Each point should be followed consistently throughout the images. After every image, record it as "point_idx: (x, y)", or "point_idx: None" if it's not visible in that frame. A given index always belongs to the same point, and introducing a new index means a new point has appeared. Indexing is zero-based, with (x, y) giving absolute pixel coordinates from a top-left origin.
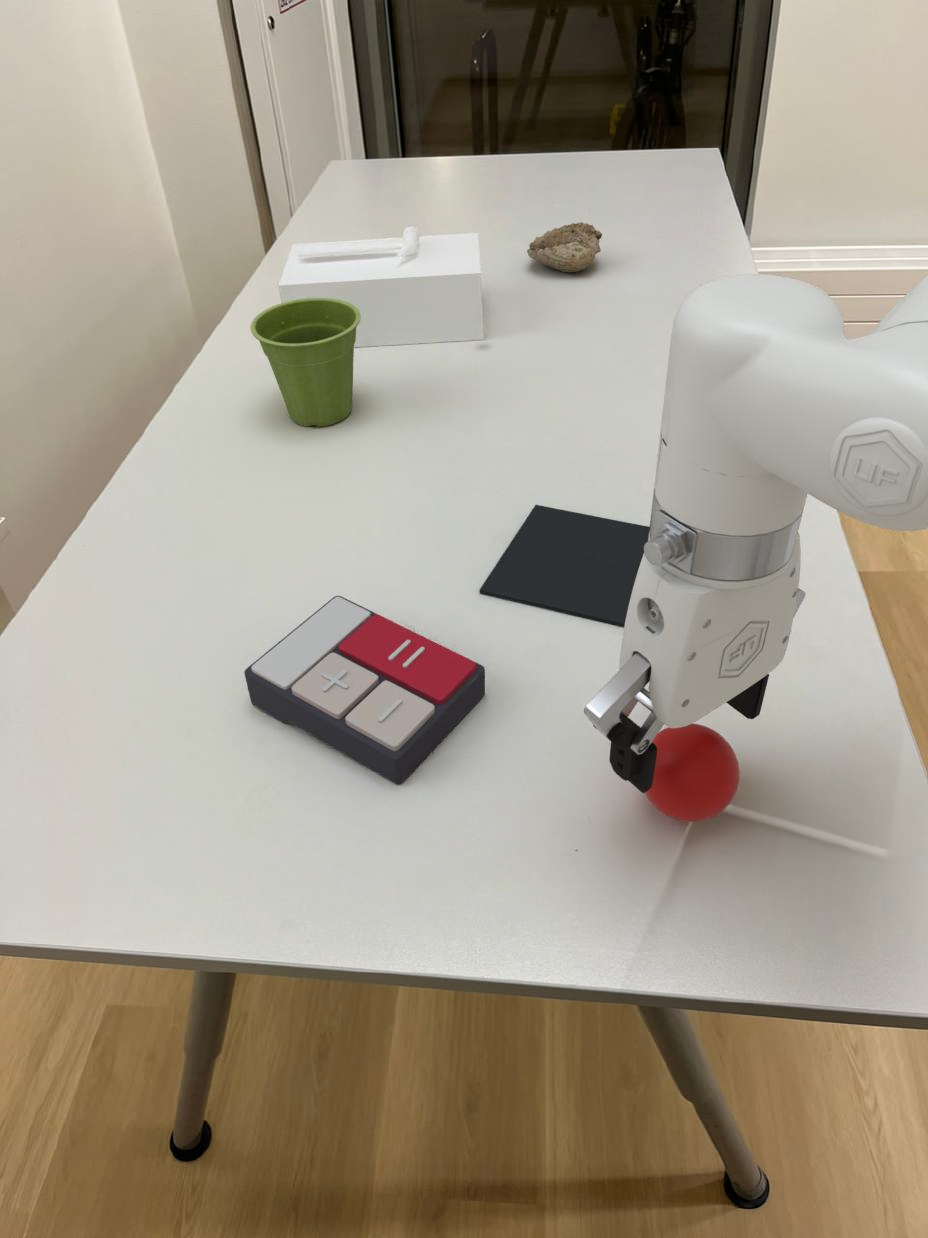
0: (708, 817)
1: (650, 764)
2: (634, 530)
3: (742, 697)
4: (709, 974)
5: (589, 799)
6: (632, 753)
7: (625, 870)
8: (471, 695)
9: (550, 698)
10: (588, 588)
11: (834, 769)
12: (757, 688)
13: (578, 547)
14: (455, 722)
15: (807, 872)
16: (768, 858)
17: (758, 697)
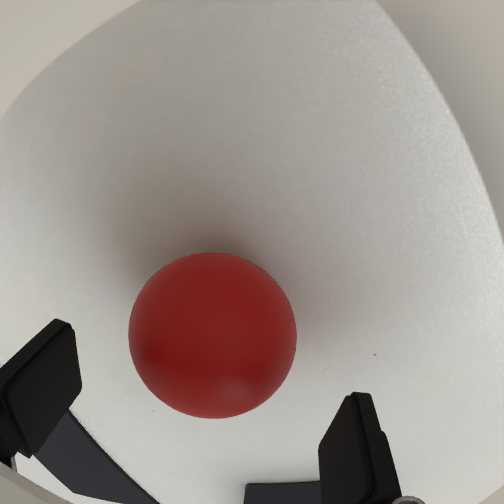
0: (254, 264)
1: (384, 457)
2: None
3: (55, 371)
4: (442, 137)
5: (299, 381)
6: (401, 495)
7: (372, 299)
8: (270, 499)
9: (206, 454)
10: (87, 461)
11: (49, 172)
12: (22, 379)
13: (69, 471)
14: (297, 487)
15: (214, 99)
16: (229, 154)
17: (33, 357)
